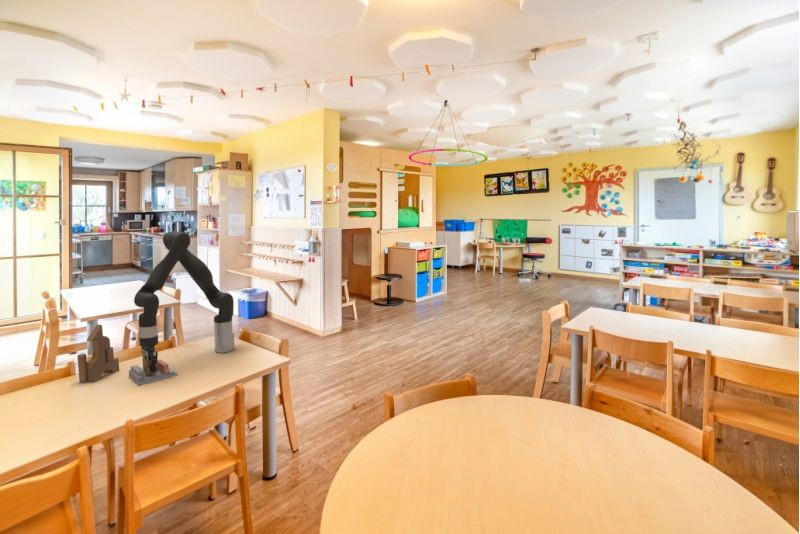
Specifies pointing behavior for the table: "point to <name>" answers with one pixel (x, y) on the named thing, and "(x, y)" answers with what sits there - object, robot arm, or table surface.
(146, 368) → the walnut block
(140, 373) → the vise base
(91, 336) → the wooden toy
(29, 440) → the table surface
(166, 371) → the bar
